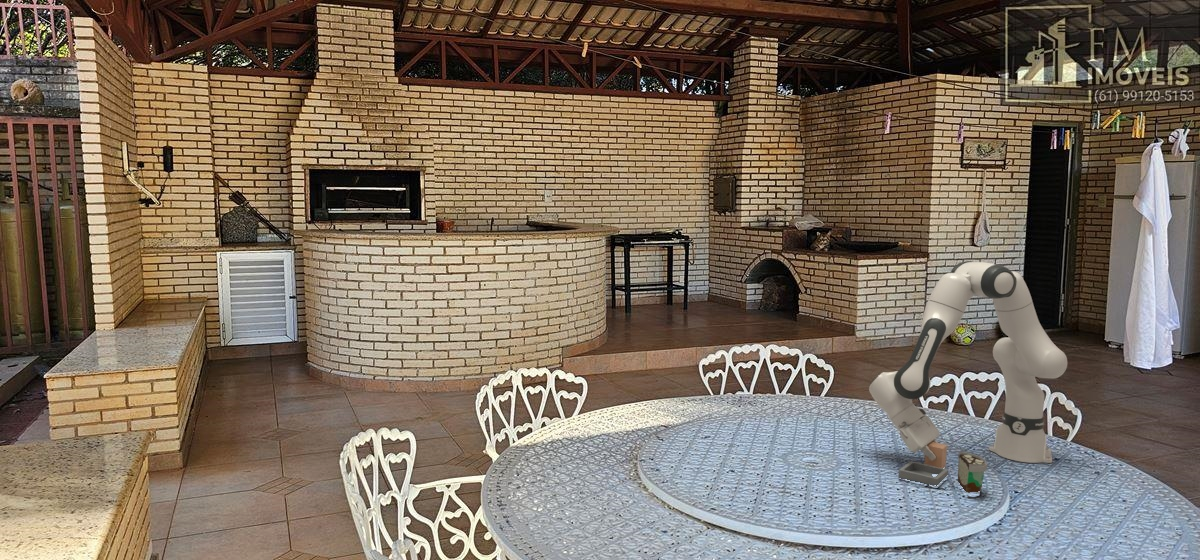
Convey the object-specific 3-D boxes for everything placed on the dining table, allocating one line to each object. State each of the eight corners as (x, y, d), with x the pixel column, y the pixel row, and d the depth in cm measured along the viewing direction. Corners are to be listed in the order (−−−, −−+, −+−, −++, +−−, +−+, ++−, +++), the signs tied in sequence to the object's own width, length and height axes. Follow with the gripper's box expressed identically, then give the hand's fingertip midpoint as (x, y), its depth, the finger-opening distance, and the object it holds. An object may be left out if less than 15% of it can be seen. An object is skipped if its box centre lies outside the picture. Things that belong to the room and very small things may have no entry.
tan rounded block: (928, 466, 243) (930, 441, 242) (945, 469, 240) (947, 445, 239) (923, 469, 239) (925, 445, 238) (940, 474, 236) (942, 448, 235)
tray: (910, 470, 238) (910, 461, 238) (947, 479, 231) (948, 469, 231) (898, 479, 230) (898, 469, 230) (936, 489, 223) (937, 479, 223)
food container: (990, 501, 215) (993, 467, 214) (967, 499, 216) (969, 464, 215) (978, 485, 227) (981, 453, 226) (955, 483, 228) (958, 451, 227)
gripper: (904, 420, 234) (935, 459, 229) (925, 408, 250) (955, 444, 245) (888, 431, 237) (919, 470, 232) (910, 418, 253) (939, 454, 248)
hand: (937, 456), depth 239 cm, fingers closed on tan rounded block, 5 cm apart
